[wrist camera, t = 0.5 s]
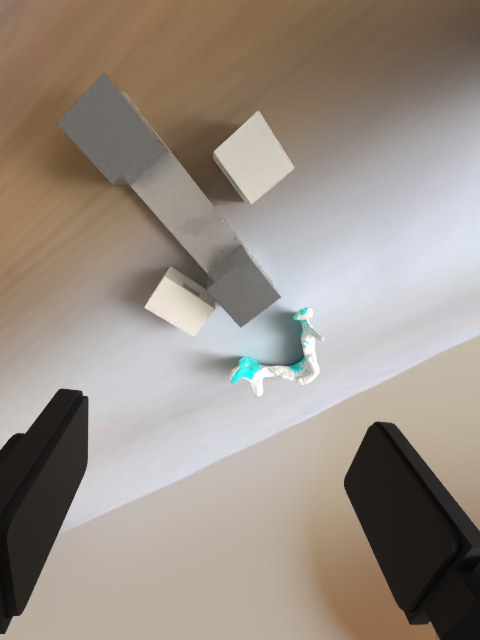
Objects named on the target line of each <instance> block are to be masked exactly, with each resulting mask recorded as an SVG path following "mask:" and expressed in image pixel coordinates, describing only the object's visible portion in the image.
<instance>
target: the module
mask: <svg viewBox="0 0 480 640" xmlns="http://www.w3.org/2000/svg"><path fill="white" fill-rule="evenodd" d="M213 160H214V161H215V162H216V164H217V165H218V166H219V168H220V169H221V171H222V172H223V173H224V175H225V176H226V177H227V179H228V180H229V182H230V183H231V184H232V186H233V187H234V188H235V190H236V191H237V193H238V194H239V195H240V197H241V198H242V199H243V201H244V202H246V203H249V204H251V205H252V204H253V203H254V202H256V201H257V200H258V199H259V198H260V197H262V196H263V195H264V194H265V193H266V192H267V191H269V190H270V189H271V188H272V187H273V186H274V185H276V184H277V183H278V182H279V181H280V180H282V179H283V178H284V177H285V176H286V175H287V174H289V173H290V172H291V171H292V170H293V169H295V168H294V166H293V164H292V163H291V161H290V160H289V158H288V156H287V155H286V153H285V152H284V150H283V148H282V147H281V145H280V144H279V142H278V140H277V139H276V137H275V135H274V134H273V132H272V131H271V129H270V127H269V126H268V124H267V123H266V121H265V119H264V118H263V116H262V115H261V113H260V111H259V110H258V111H257V112H256V113H255V114H254V115H253V116H252V117H251V118H250V119H249V120H247V121H246V122H245V123H244V124H243V125H242V126H241V127H240V128H239V129H238V130H237V131H235V132H234V133H233V134H232V135H231V136H230V137H229V138H228V139H227V140H226V141H225V142H223V143H222V144H221V145H220V146H219V147H218V148H217V149H216V150H215V151H214V152H213Z"/></svg>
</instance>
